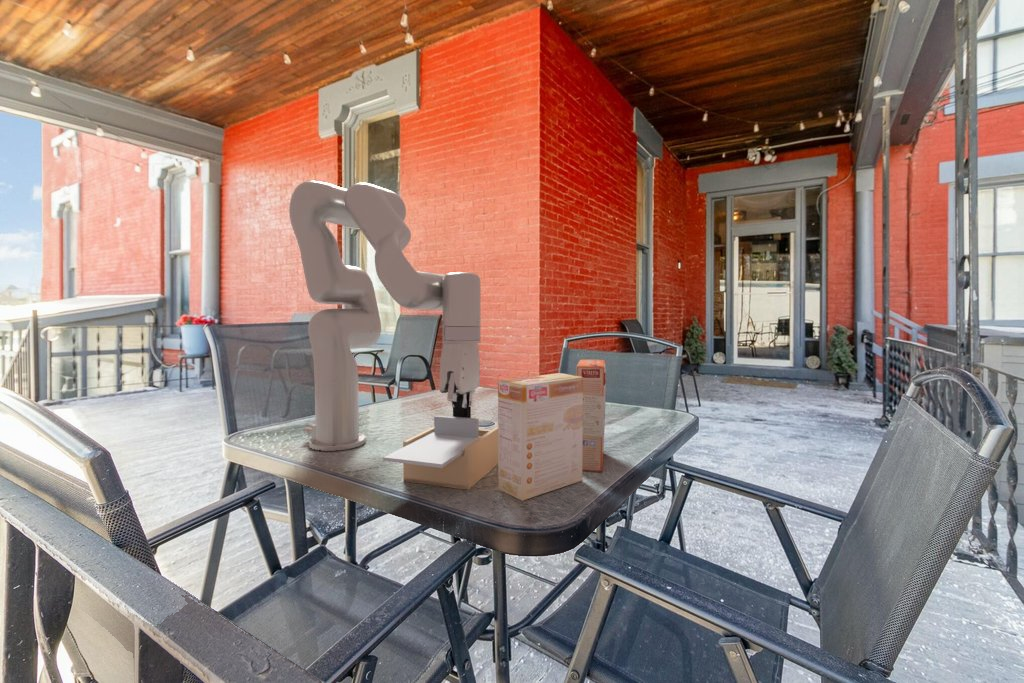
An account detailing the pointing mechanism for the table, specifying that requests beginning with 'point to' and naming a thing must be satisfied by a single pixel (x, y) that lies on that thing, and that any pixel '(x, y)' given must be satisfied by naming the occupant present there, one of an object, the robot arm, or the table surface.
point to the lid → (439, 443)
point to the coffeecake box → (539, 434)
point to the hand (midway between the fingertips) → (461, 426)
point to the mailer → (457, 463)
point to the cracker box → (593, 412)
